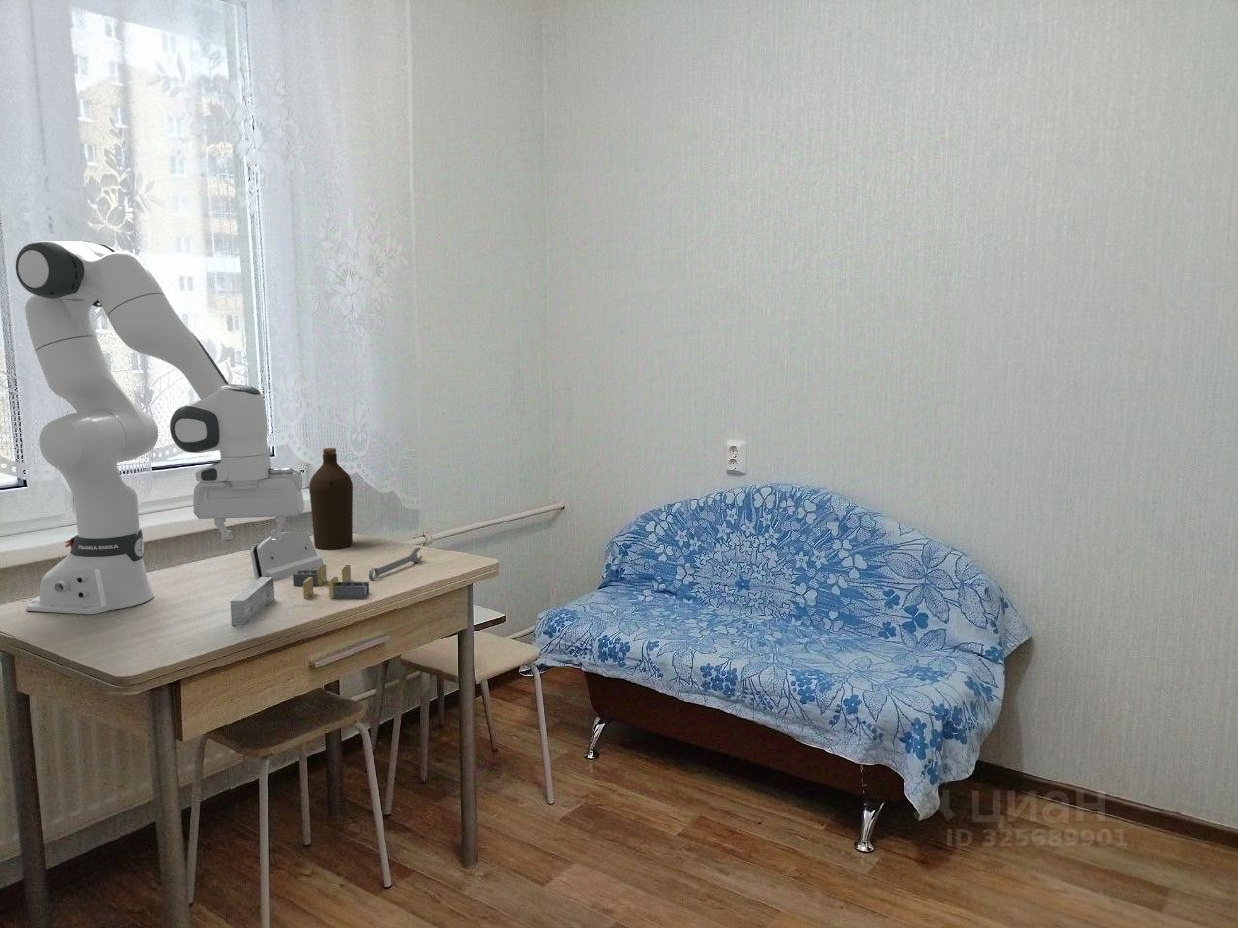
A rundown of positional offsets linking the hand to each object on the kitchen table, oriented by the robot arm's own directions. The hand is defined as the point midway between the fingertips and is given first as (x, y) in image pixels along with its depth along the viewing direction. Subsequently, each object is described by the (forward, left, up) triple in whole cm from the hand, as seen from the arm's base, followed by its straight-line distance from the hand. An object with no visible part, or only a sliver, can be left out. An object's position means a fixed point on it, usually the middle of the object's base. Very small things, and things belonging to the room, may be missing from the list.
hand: (252, 539), depth 183 cm
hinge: (-4, +32, -15) cm, 35 cm away
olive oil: (0, +57, -15) cm, 59 cm away
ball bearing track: (+9, +16, -15) cm, 24 cm away
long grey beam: (0, 0, -15) cm, 15 cm away
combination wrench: (+21, +32, -15) cm, 41 cm away
